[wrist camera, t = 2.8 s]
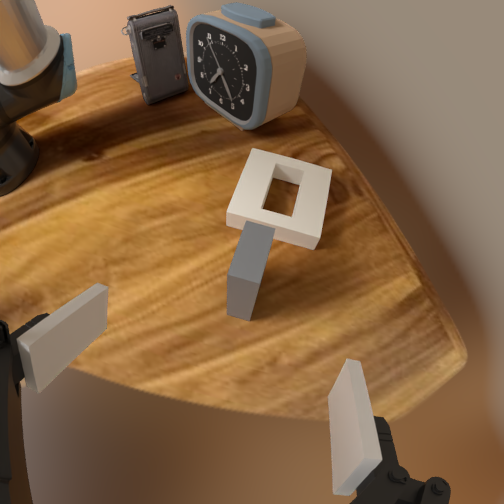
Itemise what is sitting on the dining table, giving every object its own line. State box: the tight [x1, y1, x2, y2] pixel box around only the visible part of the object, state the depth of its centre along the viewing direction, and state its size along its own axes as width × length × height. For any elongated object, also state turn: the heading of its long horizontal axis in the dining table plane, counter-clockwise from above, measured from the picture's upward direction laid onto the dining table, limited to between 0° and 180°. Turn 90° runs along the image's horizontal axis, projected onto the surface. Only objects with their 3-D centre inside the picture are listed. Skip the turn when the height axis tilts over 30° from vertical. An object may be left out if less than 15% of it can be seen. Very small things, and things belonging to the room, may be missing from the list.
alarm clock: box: [186, 2, 307, 131], centre depth 49 cm, size 21×10×22 cm, turn 42°
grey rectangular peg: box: [227, 220, 275, 321], centre depth 36 cm, size 3×6×13 cm, turn 165°
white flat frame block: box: [226, 148, 332, 250], centre depth 47 cm, size 13×13×4 cm
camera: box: [121, 5, 189, 105], centre depth 55 cm, size 11×17×20 cm, turn 32°
